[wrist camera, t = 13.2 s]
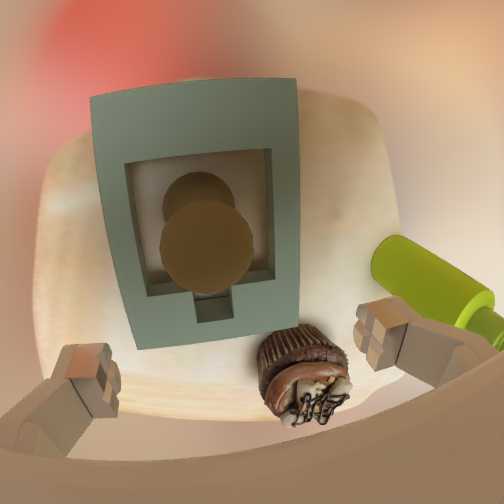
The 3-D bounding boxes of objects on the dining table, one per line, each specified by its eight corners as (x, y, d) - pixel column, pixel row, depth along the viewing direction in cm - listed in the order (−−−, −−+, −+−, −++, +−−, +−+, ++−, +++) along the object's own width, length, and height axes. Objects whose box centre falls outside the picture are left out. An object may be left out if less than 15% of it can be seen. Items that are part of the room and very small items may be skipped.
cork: (174, 250, 27) (171, 322, 17) (153, 183, 24) (132, 220, 14) (241, 231, 27) (277, 293, 17) (225, 163, 25) (254, 186, 15)
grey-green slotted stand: (105, 102, 21) (89, 97, 17) (277, 86, 23) (296, 78, 19) (141, 320, 28) (137, 349, 24) (283, 300, 31) (298, 326, 27)
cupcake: (245, 385, 34) (266, 453, 25) (253, 318, 31) (282, 389, 22) (320, 376, 37) (353, 435, 28) (338, 312, 33) (385, 371, 24)
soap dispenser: (376, 299, 34) (493, 418, 16) (366, 249, 31) (514, 368, 13) (415, 276, 34) (536, 374, 16) (408, 226, 31) (557, 318, 13)
